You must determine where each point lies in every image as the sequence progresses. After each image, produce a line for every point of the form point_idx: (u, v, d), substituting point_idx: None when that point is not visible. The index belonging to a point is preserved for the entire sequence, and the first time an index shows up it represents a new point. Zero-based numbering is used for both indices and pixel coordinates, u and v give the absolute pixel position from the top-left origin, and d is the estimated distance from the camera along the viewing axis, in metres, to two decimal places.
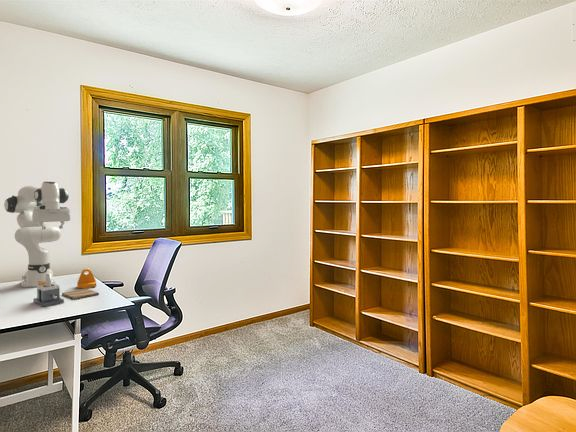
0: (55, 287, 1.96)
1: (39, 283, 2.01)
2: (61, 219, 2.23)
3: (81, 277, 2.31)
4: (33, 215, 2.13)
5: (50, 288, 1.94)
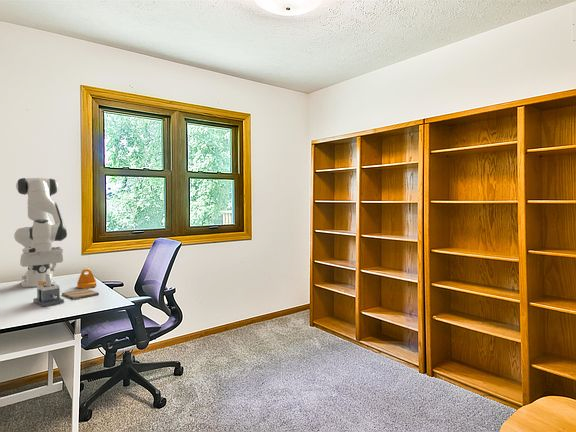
0: (55, 287, 1.96)
1: (39, 283, 2.01)
2: (53, 261, 2.03)
3: (81, 277, 2.31)
4: (21, 259, 1.92)
5: (50, 288, 1.94)
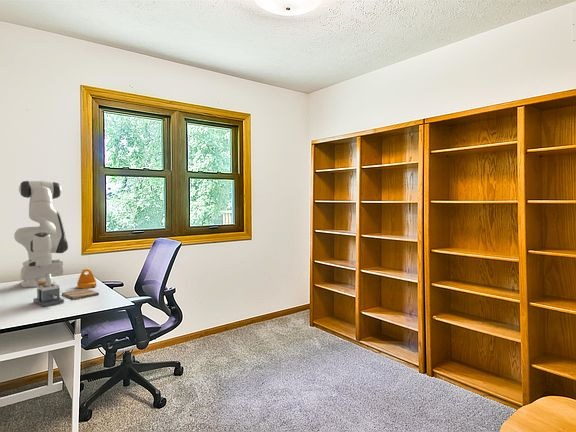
0: (55, 287, 1.96)
1: None
2: (53, 274, 2.04)
3: (81, 277, 2.31)
4: (22, 272, 1.93)
5: (50, 288, 1.94)
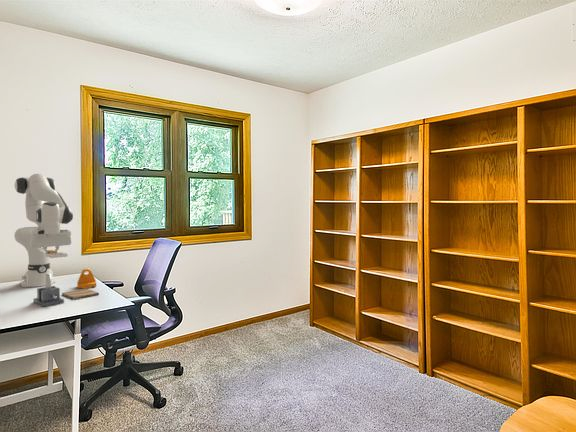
0: (63, 255, 1.98)
1: None
2: (61, 243, 2.06)
3: (81, 277, 2.31)
4: (31, 240, 1.96)
5: (58, 256, 1.96)
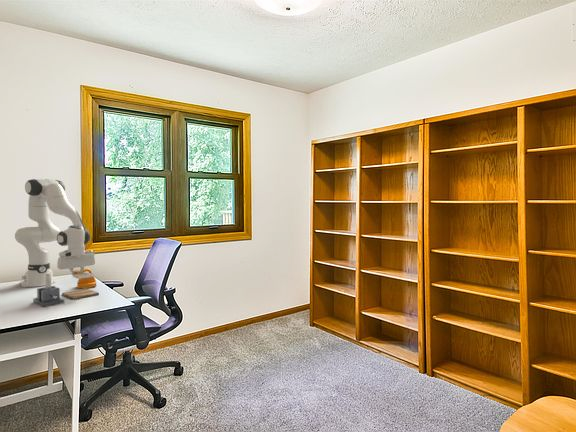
0: (89, 275, 2.10)
1: None
2: (86, 264, 2.18)
3: None
4: (58, 262, 2.07)
5: (85, 276, 2.08)
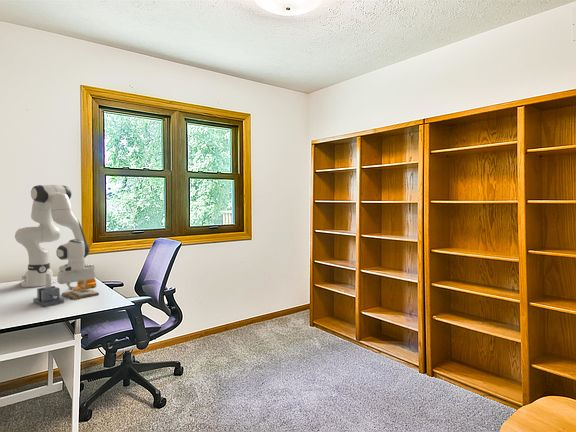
0: (89, 292, 2.10)
1: (73, 289, 2.16)
2: (86, 278, 2.18)
3: None
4: (58, 277, 2.07)
5: (85, 293, 2.08)
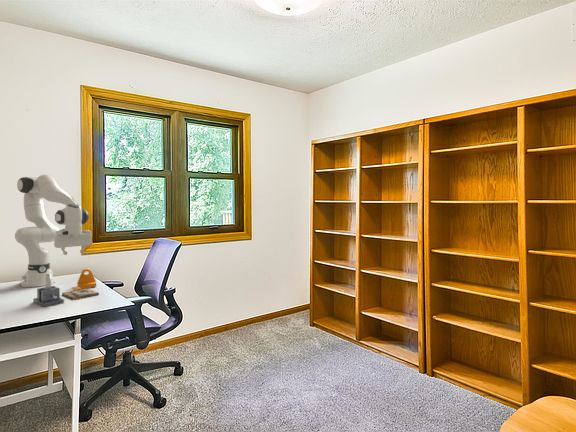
0: (89, 292, 2.10)
1: (73, 289, 2.16)
2: (83, 244, 2.17)
3: (81, 277, 2.31)
4: (55, 240, 2.06)
5: (85, 293, 2.08)
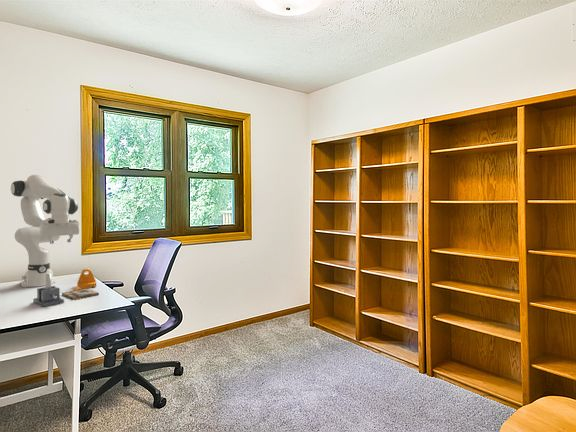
0: (89, 292, 2.10)
1: (73, 289, 2.16)
2: (70, 233, 2.16)
3: (81, 277, 2.31)
4: (41, 229, 2.06)
5: (85, 293, 2.08)
